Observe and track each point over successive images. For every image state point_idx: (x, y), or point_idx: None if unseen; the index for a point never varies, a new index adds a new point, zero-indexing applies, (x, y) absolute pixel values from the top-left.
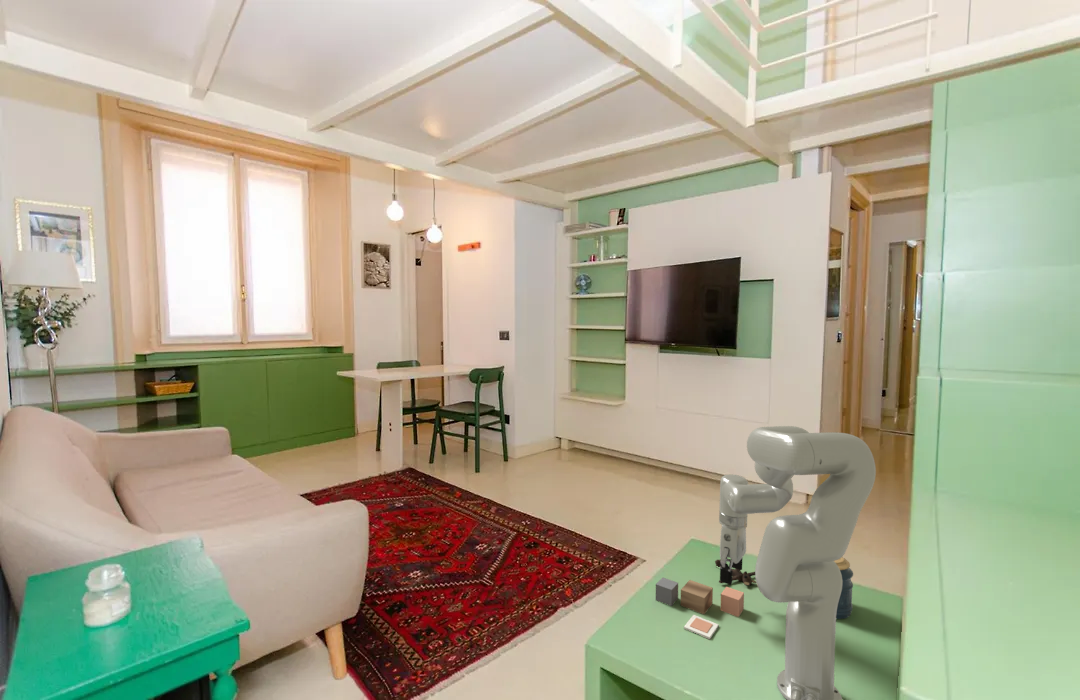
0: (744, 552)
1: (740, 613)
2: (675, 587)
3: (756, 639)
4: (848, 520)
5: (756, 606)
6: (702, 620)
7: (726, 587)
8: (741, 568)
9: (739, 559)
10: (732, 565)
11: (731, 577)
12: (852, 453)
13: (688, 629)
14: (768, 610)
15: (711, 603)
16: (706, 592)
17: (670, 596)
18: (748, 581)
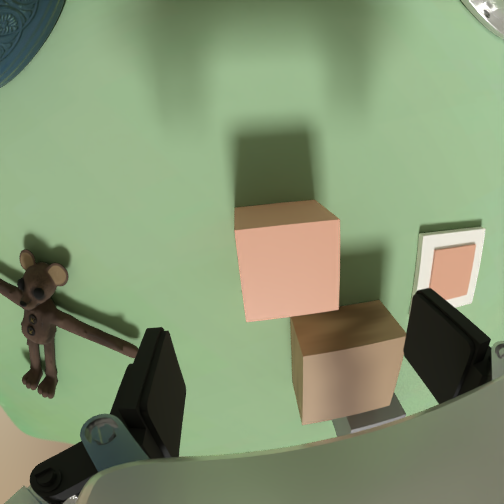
0: (212, 493)
1: (287, 202)
2: (373, 418)
3: (406, 100)
4: None
5: (169, 174)
6: (432, 283)
7: (254, 318)
8: (157, 334)
9: (500, 404)
10: (181, 391)
11: (458, 313)
12: None
13: (472, 289)
14: (161, 122)
15: (303, 315)
16: (361, 352)
17: (396, 400)
18: (45, 274)
